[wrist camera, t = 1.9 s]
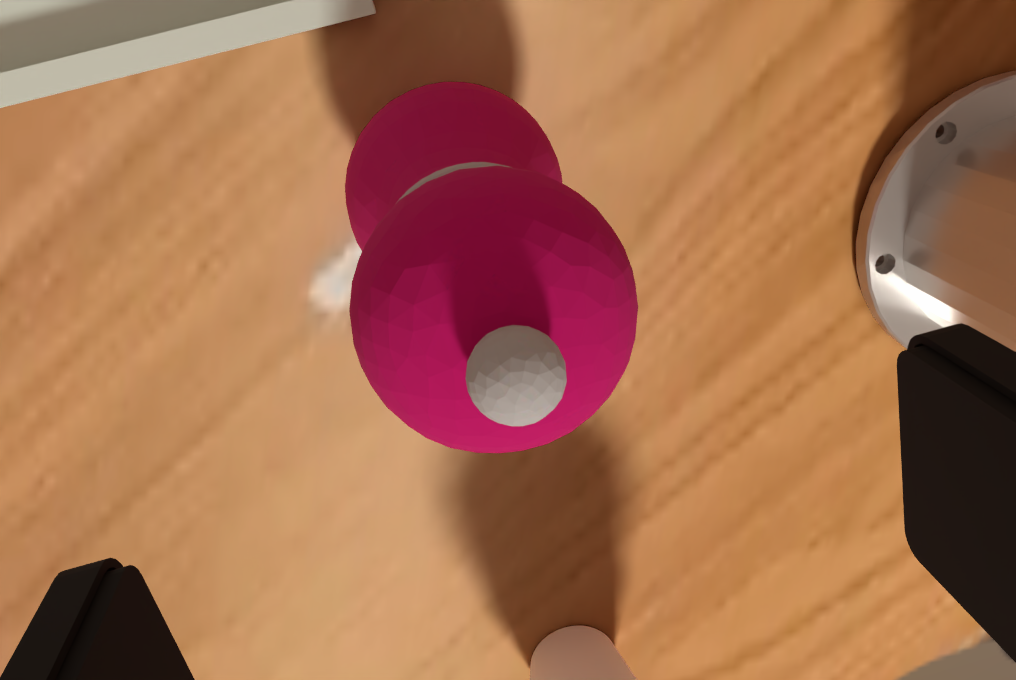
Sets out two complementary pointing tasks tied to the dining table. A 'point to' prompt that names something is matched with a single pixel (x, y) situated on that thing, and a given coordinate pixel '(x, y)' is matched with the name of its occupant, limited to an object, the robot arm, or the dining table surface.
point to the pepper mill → (481, 274)
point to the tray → (139, 36)
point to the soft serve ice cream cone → (578, 657)
